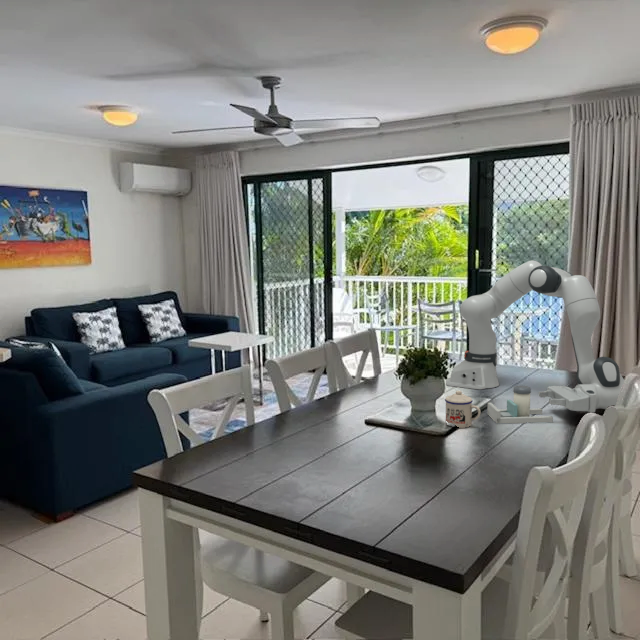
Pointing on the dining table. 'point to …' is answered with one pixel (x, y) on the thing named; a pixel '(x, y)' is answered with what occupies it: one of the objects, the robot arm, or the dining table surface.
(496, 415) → the lane
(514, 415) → the pusher
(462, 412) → the teacup with lid
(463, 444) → the dining table surface
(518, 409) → the jar
